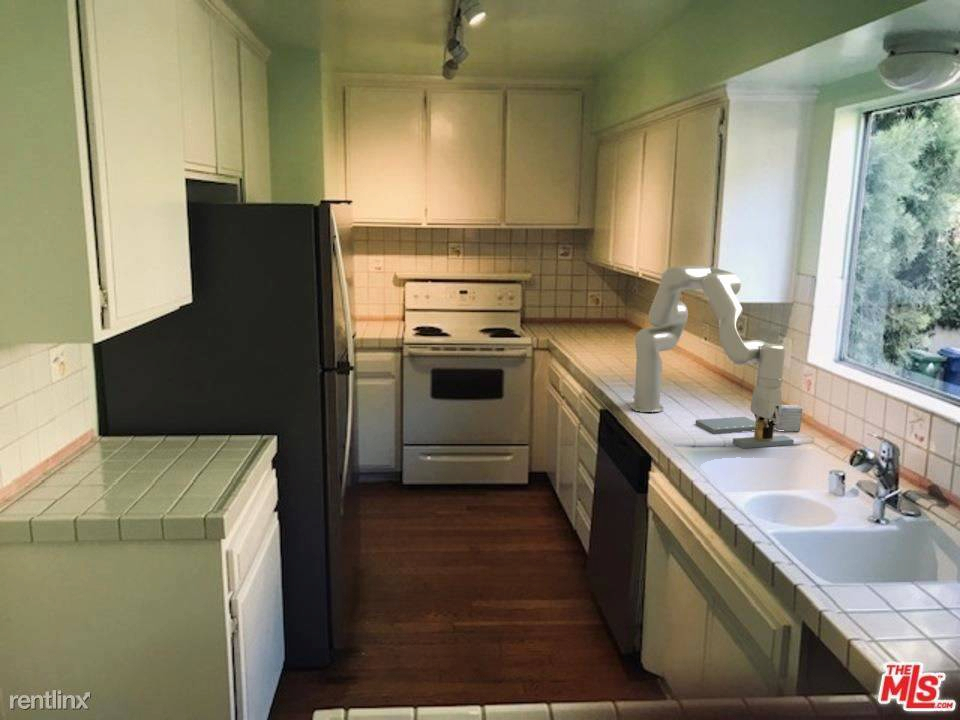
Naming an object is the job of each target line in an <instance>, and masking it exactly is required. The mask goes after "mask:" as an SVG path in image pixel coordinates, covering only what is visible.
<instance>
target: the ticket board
mask: <svg viewBox="0 0 960 720" xmlns="http://www.w3.org/2000/svg"><path fill="white" fill-rule="evenodd" d="M755 423H756V420H755V421H754V420H753V419H751V418H748V417H746V416H736V417H735V416H734V417H721V418H704V419H703V418H702V419H696V420H695V425H696V426H698V427H700V428H702V429H704V430H706V431H707V432H709V433H711V434H713V435H718V434H719V435H721V434H722V433H723V434H733V433H732V432H738V433H743V432H742V431H752V430H755ZM752 432H753V431H752Z"/></svg>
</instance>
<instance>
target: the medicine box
mask: <svg viewBox="0 0 960 720" xmlns="http://www.w3.org/2000/svg"><path fill="white" fill-rule="evenodd" d="M803 410H804V409H803V407H801V406H800V405H797V404H782V405H781V414H780V417H779V418H780V423H777V424H775V426H774V428H776V429H777V430H784V431H800V432H801V427H802V426H801V425H802V416H803Z"/></svg>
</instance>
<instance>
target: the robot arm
mask: <svg viewBox="0 0 960 720" xmlns="http://www.w3.org/2000/svg"><path fill="white" fill-rule="evenodd" d="M741 287H742V285H741V280H740V278H739V277H738V276H737V275H736V274H735V273H734V272H731V271H729V270H725V269H720V268H717V267H714V266H710V265H703V264H701V265H700V264H699V265H676V266H670V267H668V268H667V269H666V270H665V271H664V272H663V273H662V276H661V278H660V280H659V285H658V289H657V291H656V293H655V297H654V299H653V301H652V304H651V305H650V309H649V312H648V318H647V319H648V322H649V324H650V325H651V326H649V327H645V328H642V329H640V330H639V331H638V332H636V335H635V339H634V341H635V342H634V343H635V344H634V345H635V350H636V354H635V355H636V363H635V365H636V366H635V381H634V383H635V384H634V385H635V386H634V395H632V398H633V400H634V401H633V402H631V403H629V409H630V410H632V409H633V410H632V411H634V410H637V411H640V412H639V413H643V412H652V413H651V414H654V413H653V412H658V413H661V411H662V412H663V411H664V406H663V405H662V404H660V403H661V389H662V375H663V374H662V373H663V371H662V370H663V361H662V358H661V355H660V352H665V351H670V350H672V349H675V347H677V344H678V343H679V340H680V339H681V336H682V334H683V331H684V328H685V326H686V324H687V322H688V317H689V311H688V307H687V305H686V304H685V303H684V302H683V301H680V299H681V297H682V290H684V291H689V290H690V291H691V290H692V291H693V290H702V291H703V294H704V295H705V296H706V299H707V301H708V303H709V305H710V306H711V308H712V310H713V311H714V315H716V318H717V319H718V339H719V342H720V345H721V346H722V349H723V351H724V352H725V354H726V356H727V357H728V359H729V360H730V361H731V362H732V363H734V364H736V365H739V366H743V365H748V364H754V363H756V364H757V365H758V366H757V375H756V383H755V385H754V388H753V391H752V395H751V404H750V411H751V412H752V414H753V415H754V417H755V422H756V421H759V420H765V427H764V429H763V439H771V438H772V434H773V427H774V426H775V424H777V423H780V418H779V417H780V414H781V405H783V403H782V397H783V396H782V381H783V375H784V373H783V372H784V365H785V364H784V363H785V356H786V355H785V354H786V350H785V347H784V346H783V345H782V344H778V343H777V344H776V343H770V342H766V341H764V340H760V339H750V340H743V339H742V338H741V336H740V333H739V331H738V329H737V321H738V318H739V317H741V315H742V314H743V310H744V309H743V308H744V307H743V306H742V305H741V303H740V302H739V301H740V300H739V299H738V297H737V296H736V295H737V294H739V292H740V291H741ZM637 411H636V412H637ZM769 420H770V422H769ZM773 435H774V434H773Z"/></svg>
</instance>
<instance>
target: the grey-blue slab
mask: <svg viewBox="0 0 960 720" xmlns="http://www.w3.org/2000/svg"><path fill="white" fill-rule="evenodd" d="M770 421H771V420H769V422H770ZM755 422H756V423H755V431H754V432H753V433H754V435H753V436H747V437H735V438H732V444H734V445H735V446H737V447H739V448H741V449H751V448H754V449H755V448H762V447H763V448H764V447H765V448H766V447H776V446H777V447H779V446H790V445H791V446H793V445H794V442H795V441H794V439H793V438H792V437H791V438H790V437H789V436H786V435H784V434H777V435H776V434H775V433H774V432H775V429H774V427H773V434H772V438H771V439H763V429H764V427H765V420H759V421H756V420H755ZM774 434H775V435H774Z"/></svg>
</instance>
